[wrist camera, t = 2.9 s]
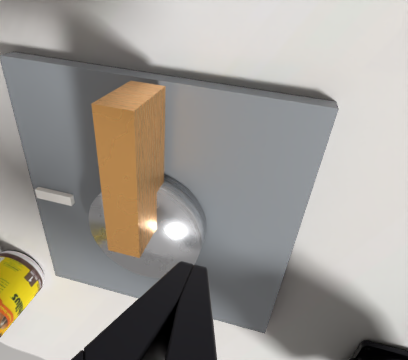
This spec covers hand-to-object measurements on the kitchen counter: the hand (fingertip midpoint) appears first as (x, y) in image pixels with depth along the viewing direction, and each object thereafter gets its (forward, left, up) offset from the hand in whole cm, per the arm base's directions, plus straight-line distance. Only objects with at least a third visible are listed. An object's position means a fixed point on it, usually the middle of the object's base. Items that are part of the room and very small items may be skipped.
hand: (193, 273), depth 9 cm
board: (+5, +8, -12) cm, 15 cm away
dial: (+5, +5, -11) cm, 13 cm away
